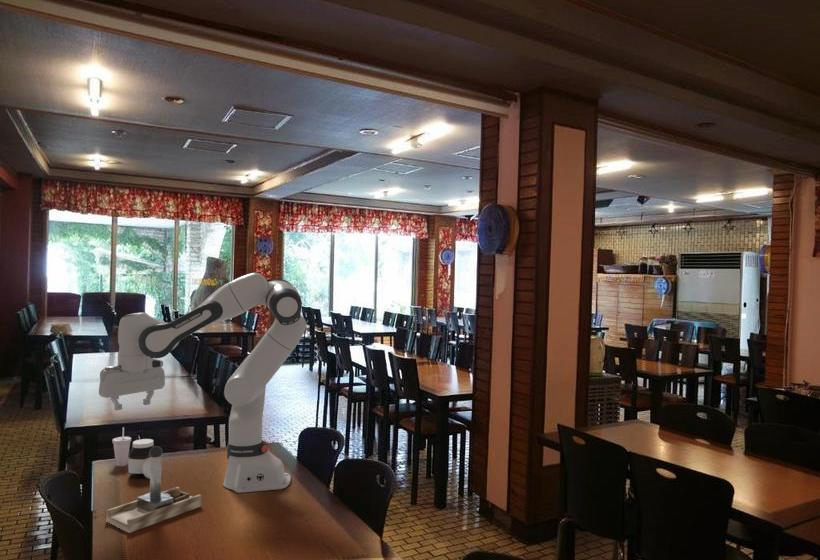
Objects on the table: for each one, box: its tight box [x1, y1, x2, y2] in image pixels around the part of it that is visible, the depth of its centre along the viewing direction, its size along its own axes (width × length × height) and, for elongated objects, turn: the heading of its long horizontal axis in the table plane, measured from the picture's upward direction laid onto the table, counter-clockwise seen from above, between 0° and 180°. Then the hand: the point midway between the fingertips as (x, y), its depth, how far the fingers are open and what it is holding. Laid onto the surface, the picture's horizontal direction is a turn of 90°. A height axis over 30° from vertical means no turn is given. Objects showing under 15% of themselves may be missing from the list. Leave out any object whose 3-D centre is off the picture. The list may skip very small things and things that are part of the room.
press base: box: [105, 486, 202, 534], centre depth 173 cm, size 23×12×4 cm, turn 146°
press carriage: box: [136, 445, 173, 512], centre depth 173 cm, size 7×9×18 cm
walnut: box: [167, 487, 181, 501], centre depth 178 cm, size 4×4×4 cm
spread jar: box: [127, 438, 163, 480], centre depth 206 cm, size 12×11×12 cm
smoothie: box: [112, 426, 132, 467], centre depth 216 cm, size 6×6×14 cm
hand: (132, 407), depth 184 cm, fingers open, 8 cm apart
